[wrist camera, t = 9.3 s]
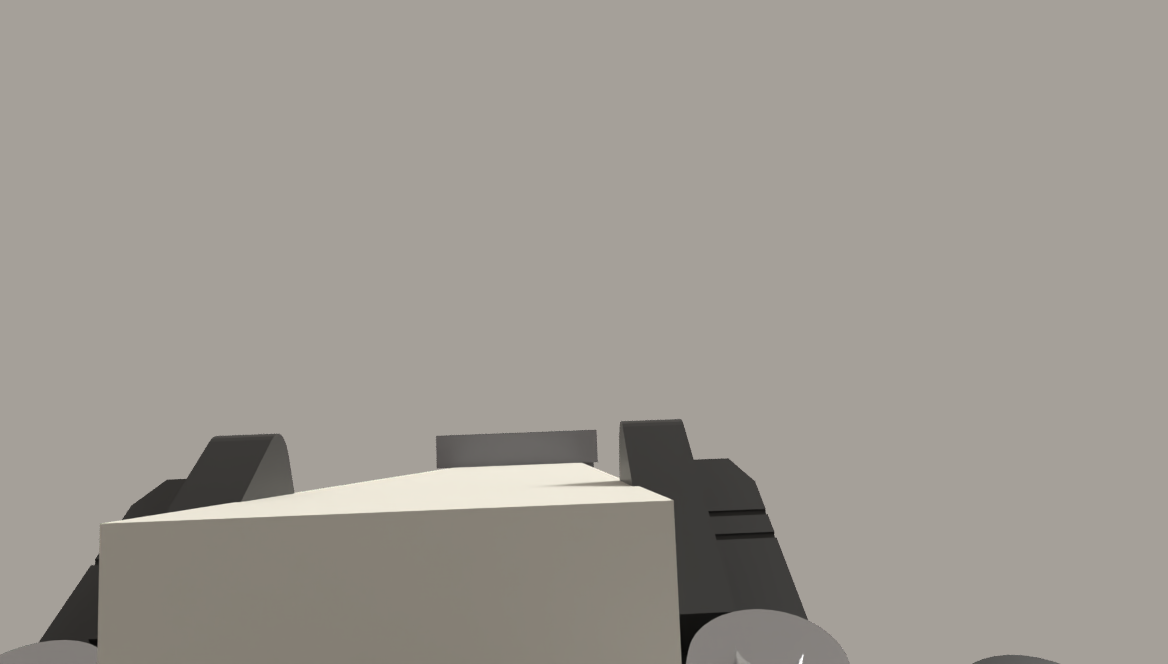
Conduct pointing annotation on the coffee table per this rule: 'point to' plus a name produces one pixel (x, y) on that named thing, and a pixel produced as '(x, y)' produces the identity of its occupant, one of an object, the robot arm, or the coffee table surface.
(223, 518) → the white bar
